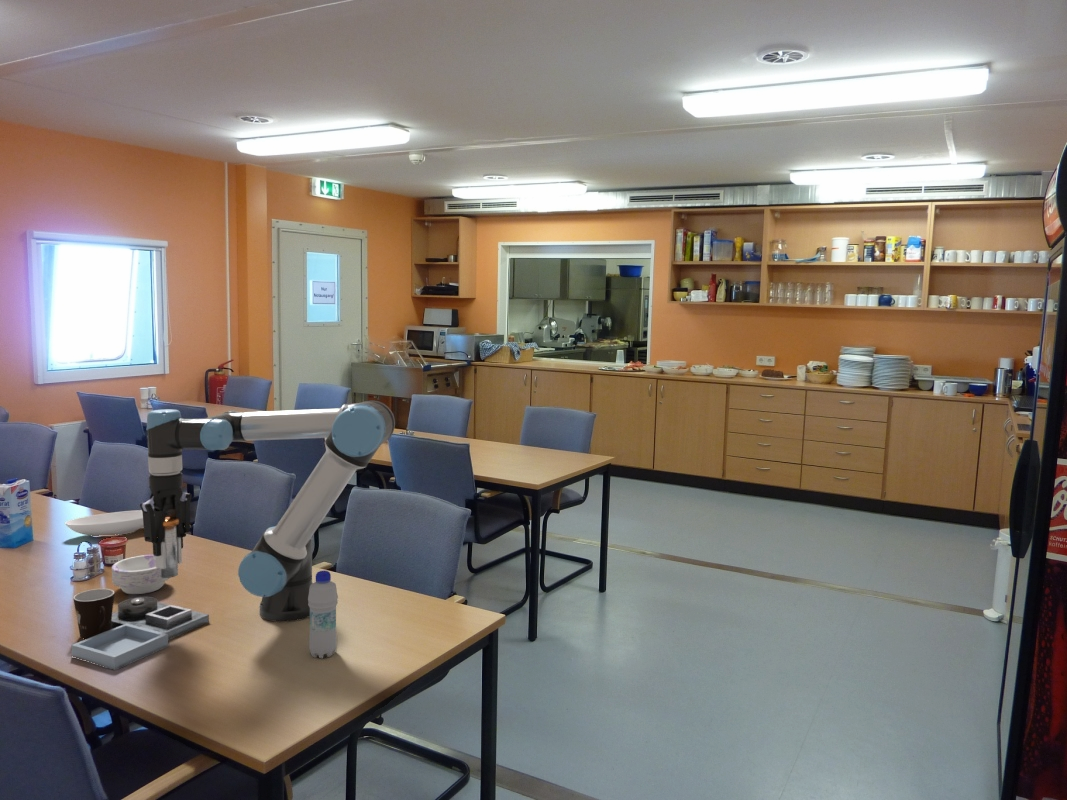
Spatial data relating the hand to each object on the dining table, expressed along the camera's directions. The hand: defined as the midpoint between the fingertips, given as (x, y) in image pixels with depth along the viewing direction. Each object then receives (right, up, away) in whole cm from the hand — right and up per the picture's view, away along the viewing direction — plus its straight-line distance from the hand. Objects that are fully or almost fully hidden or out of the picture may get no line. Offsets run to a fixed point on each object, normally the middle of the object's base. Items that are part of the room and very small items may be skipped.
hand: (168, 564), depth 189 cm
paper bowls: (-21, -13, +28) cm, 37 cm away
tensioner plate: (-5, -16, +4) cm, 17 cm away
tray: (-5, -17, -13) cm, 22 cm away
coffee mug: (-16, -17, -5) cm, 23 cm away
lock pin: (0, -3, 0) cm, 3 cm away
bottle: (+42, -19, -11) cm, 47 cm away
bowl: (-58, -7, +81) cm, 100 cm away
